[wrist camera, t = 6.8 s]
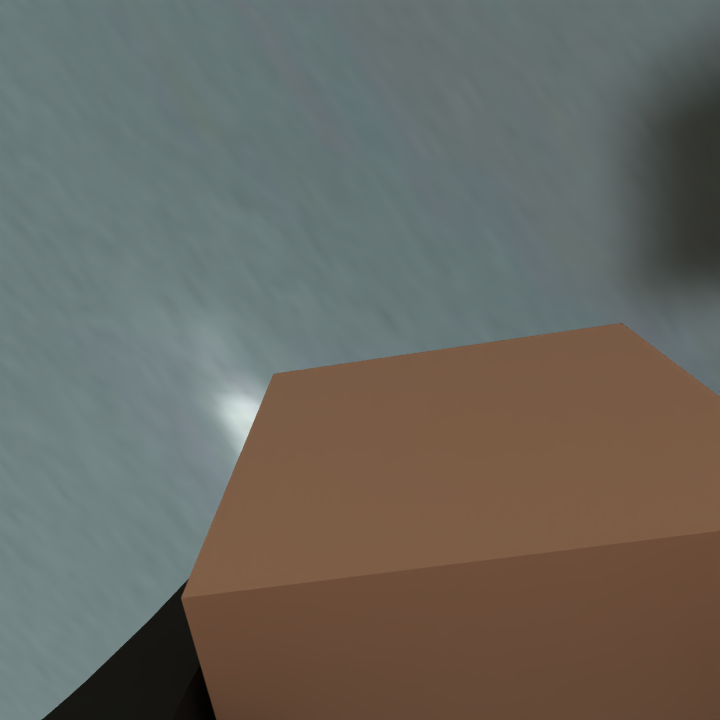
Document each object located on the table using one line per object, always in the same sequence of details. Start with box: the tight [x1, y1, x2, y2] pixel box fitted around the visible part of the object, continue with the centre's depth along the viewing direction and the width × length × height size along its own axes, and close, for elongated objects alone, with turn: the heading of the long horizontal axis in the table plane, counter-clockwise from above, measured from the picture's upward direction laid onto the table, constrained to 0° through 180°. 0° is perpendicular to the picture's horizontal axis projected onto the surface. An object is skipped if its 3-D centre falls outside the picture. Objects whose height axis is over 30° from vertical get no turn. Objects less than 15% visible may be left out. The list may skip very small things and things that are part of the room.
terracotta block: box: [181, 323, 720, 720], centre depth 8 cm, size 5×5×5 cm
